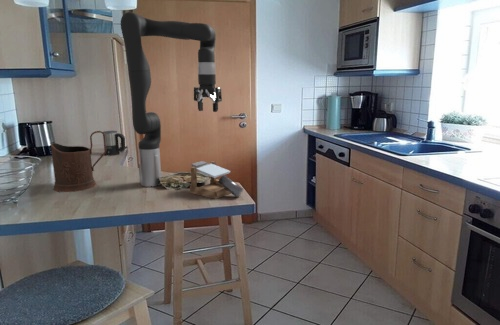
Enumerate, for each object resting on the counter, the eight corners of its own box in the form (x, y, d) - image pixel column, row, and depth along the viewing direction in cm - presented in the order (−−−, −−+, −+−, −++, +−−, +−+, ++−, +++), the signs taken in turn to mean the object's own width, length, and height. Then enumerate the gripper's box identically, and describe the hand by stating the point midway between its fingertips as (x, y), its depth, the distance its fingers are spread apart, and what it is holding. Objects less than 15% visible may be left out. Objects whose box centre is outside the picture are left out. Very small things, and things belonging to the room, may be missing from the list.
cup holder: (56, 182, 180) (50, 130, 174) (110, 178, 187) (105, 128, 181) (49, 193, 163) (41, 136, 157) (108, 188, 170) (103, 133, 164)
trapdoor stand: (189, 192, 163) (188, 166, 161) (211, 185, 174) (210, 160, 172) (216, 199, 155) (215, 172, 152) (237, 190, 166) (236, 165, 163)
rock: (161, 189, 180) (162, 195, 165) (158, 175, 179) (159, 179, 164) (208, 178, 185) (213, 182, 171) (205, 164, 184) (210, 167, 170)
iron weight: (220, 177, 156) (238, 191, 153) (226, 173, 160) (244, 187, 157) (217, 185, 159) (235, 198, 156) (223, 181, 162) (241, 194, 159)
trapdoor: (188, 169, 164) (188, 164, 163) (204, 165, 172) (205, 160, 171) (214, 180, 156) (214, 175, 155) (229, 175, 164) (230, 170, 163)
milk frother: (103, 156, 238) (100, 132, 235) (106, 151, 253) (104, 129, 250) (126, 154, 241) (124, 131, 238) (128, 150, 256) (126, 128, 253)
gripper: (225, 73, 161) (225, 111, 165) (200, 73, 169) (201, 109, 173) (213, 73, 155) (214, 112, 159) (188, 73, 163) (190, 111, 167)
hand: (207, 111), depth 166 cm, fingers open, 8 cm apart
